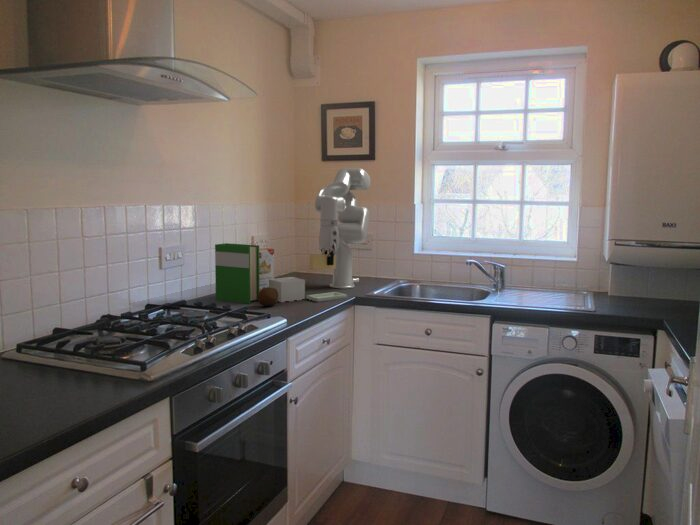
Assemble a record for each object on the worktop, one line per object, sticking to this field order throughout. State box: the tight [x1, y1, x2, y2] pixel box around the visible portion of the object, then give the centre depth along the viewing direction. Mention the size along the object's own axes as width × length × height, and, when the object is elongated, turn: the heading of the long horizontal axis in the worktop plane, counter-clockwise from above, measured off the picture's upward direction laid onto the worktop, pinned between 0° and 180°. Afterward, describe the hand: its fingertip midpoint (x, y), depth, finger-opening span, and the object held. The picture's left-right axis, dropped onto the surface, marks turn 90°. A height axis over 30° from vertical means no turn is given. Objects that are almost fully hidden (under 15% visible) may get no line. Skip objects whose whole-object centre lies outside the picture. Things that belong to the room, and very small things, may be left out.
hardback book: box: [214, 242, 260, 304], centre depth 245 cm, size 18×7×24 cm, turn 64°
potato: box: [257, 287, 278, 307], centre depth 233 cm, size 7×10×8 cm
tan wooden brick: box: [309, 253, 336, 271], centre depth 255 cm, size 12×3×6 cm, turn 126°
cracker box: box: [259, 247, 275, 292], centre depth 260 cm, size 14×6×21 cm, turn 143°
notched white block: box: [269, 276, 307, 303], centre depth 250 cm, size 13×11×9 cm
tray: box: [306, 291, 348, 303], centre depth 252 cm, size 16×8×2 cm, turn 128°
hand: (327, 264), depth 257 cm, fingers closed on tan wooden brick, 3 cm apart
